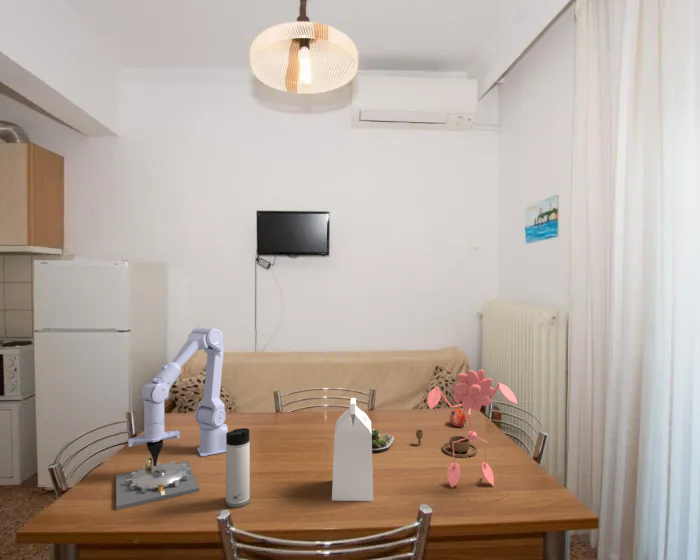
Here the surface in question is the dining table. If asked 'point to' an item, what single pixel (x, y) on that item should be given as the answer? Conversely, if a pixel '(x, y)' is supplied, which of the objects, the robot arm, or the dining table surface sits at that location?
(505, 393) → the figurine
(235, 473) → the travel mug
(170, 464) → the sprocket
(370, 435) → the milk
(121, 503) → the timing board
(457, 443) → the place setting
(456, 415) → the pomegranate
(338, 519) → the dining table surface
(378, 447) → the salad plate
